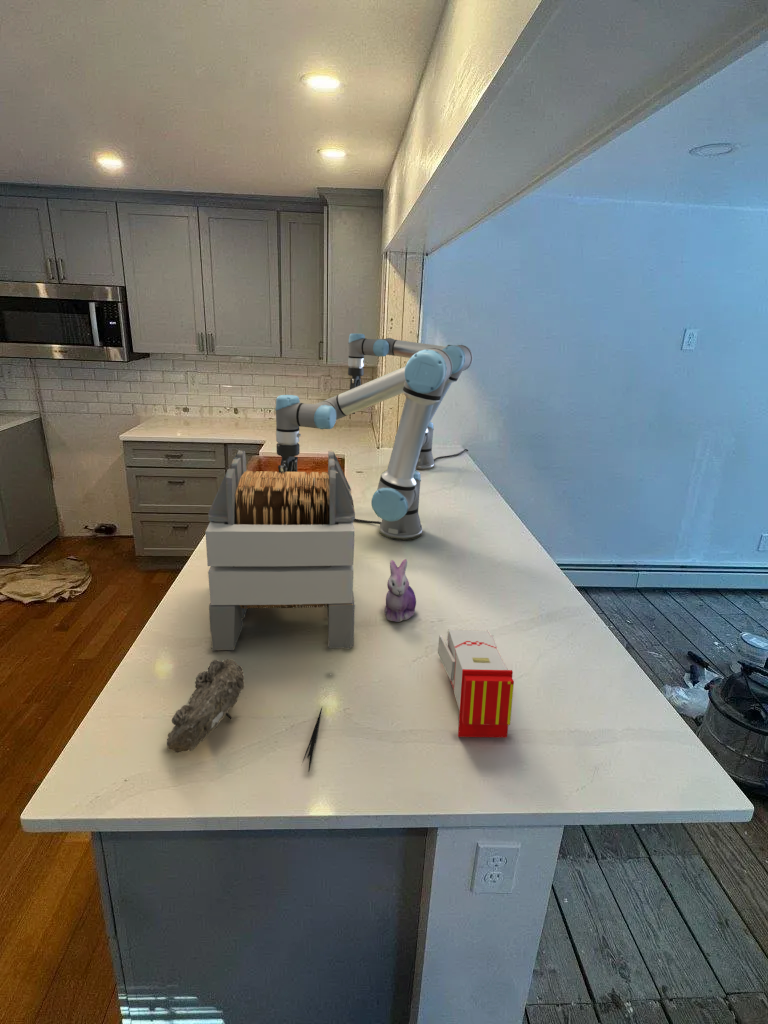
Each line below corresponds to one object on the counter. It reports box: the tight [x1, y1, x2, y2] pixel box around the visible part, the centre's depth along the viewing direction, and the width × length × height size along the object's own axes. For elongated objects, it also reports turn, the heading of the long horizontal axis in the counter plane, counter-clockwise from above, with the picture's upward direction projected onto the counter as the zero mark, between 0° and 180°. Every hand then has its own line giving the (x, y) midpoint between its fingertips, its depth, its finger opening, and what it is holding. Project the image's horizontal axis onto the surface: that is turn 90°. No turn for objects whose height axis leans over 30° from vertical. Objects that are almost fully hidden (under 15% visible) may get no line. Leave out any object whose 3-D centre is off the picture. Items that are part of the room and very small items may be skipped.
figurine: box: [384, 558, 417, 623], centre depth 145 cm, size 9×10×15 cm
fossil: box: [166, 658, 245, 754], centre depth 106 cm, size 22×10×15 cm
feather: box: [301, 673, 332, 771], centre depth 108 cm, size 2×28×2 cm
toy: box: [437, 628, 515, 738], centre depth 117 cm, size 12×13×30 cm
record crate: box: [204, 449, 356, 652], centre depth 138 cm, size 34×33×41 cm
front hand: (288, 508), depth 195 cm, fingers closed on brick, 5 cm apart
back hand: (354, 411), depth 280 cm, fingers open, 13 cm apart
